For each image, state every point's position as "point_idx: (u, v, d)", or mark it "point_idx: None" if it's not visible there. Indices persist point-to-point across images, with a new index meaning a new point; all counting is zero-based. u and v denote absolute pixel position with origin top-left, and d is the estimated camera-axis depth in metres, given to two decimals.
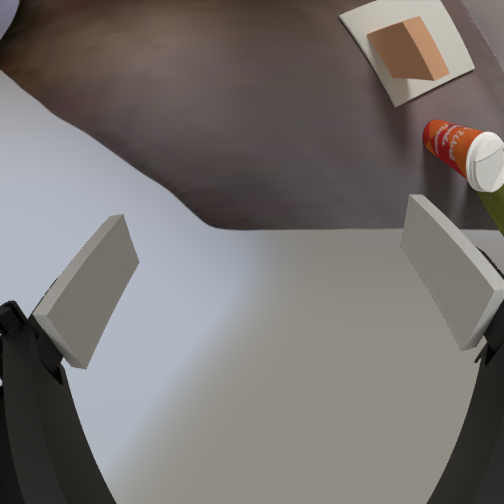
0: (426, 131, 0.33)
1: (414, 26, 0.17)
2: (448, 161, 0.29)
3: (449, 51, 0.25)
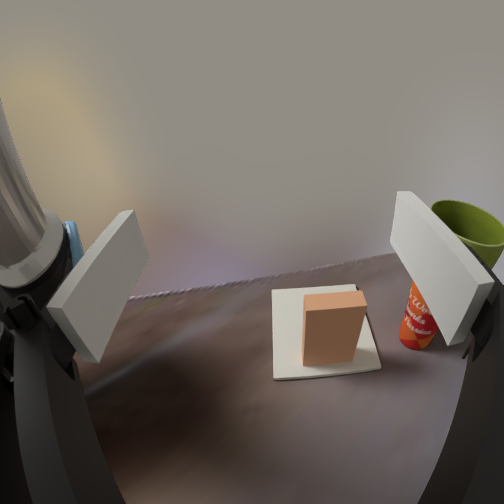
0: (409, 343, 0.36)
1: (312, 303, 0.31)
2: None
3: None
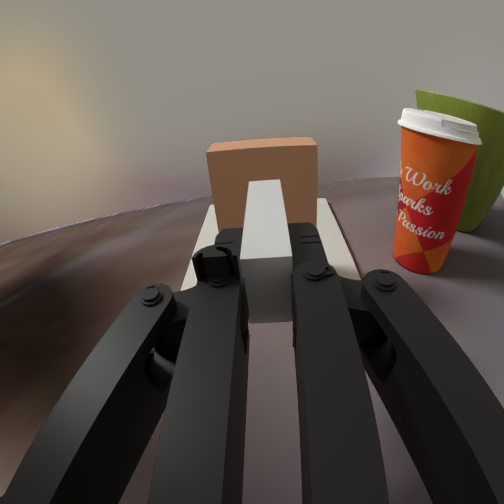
0: (410, 261, 0.23)
1: (221, 146, 0.18)
2: (453, 203, 0.18)
3: None
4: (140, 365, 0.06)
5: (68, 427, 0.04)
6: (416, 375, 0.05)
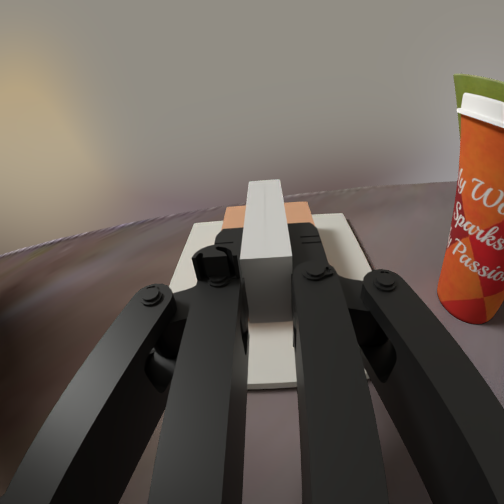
0: (463, 309, 0.14)
1: None
2: None
3: None
4: (140, 365, 0.06)
5: (68, 428, 0.04)
6: (416, 375, 0.05)
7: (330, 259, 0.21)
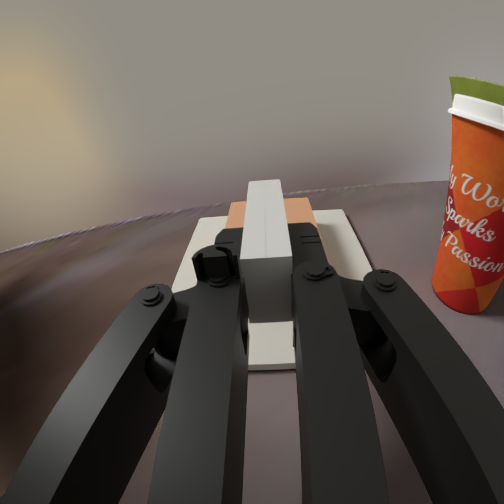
0: (456, 299, 0.16)
1: None
2: None
3: None
4: (140, 365, 0.06)
5: (68, 428, 0.04)
6: (416, 375, 0.05)
7: (330, 251, 0.23)
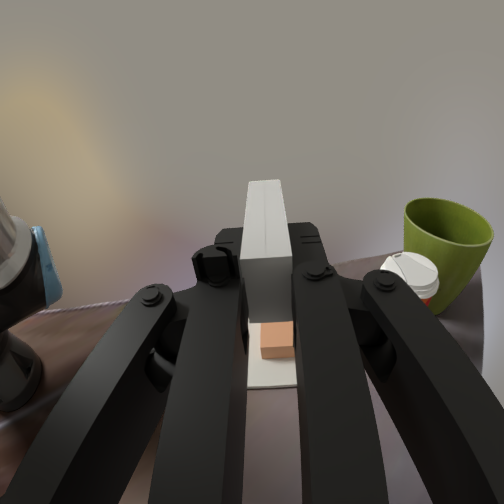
0: None
1: None
2: None
3: None
4: (140, 365, 0.06)
5: (68, 428, 0.04)
6: (416, 375, 0.05)
7: None
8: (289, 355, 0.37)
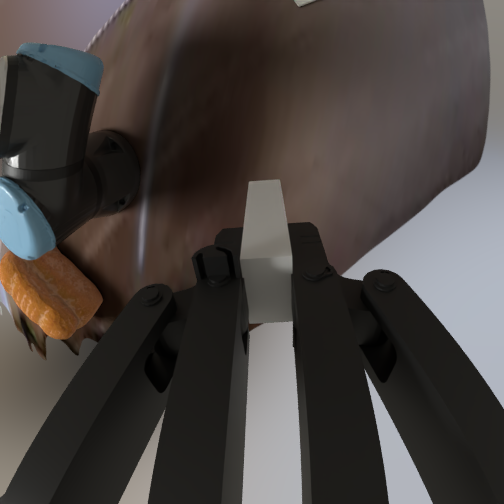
0: None
1: None
2: None
3: None
4: (140, 365, 0.06)
5: (68, 428, 0.04)
6: (416, 375, 0.05)
7: None
8: None
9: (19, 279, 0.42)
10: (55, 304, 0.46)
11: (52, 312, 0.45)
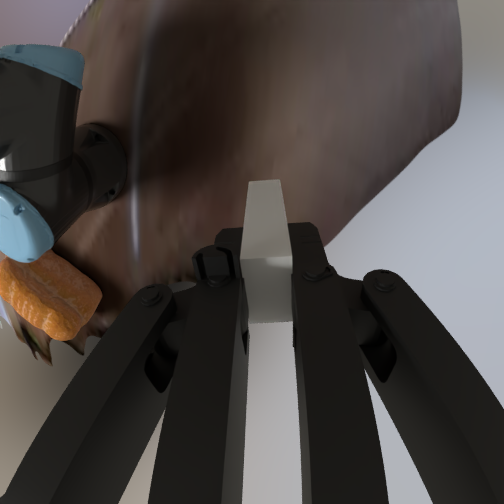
0: None
1: None
2: None
3: None
4: (140, 365, 0.06)
5: (68, 427, 0.04)
6: (416, 375, 0.05)
7: None
8: None
9: (18, 286, 0.41)
10: (57, 305, 0.46)
11: (55, 313, 0.45)
